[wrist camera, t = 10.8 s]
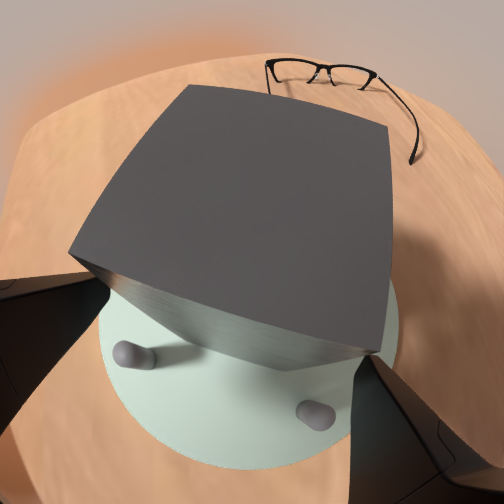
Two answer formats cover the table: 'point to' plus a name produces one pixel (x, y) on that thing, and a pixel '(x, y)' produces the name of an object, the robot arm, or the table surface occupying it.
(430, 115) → the table surface
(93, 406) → the table surface
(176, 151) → the block
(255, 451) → the pin plate
